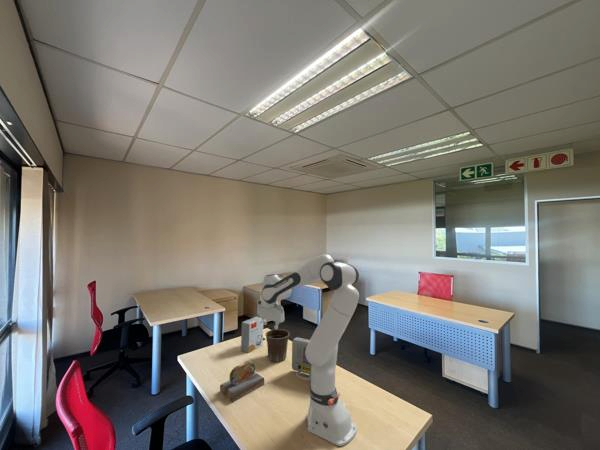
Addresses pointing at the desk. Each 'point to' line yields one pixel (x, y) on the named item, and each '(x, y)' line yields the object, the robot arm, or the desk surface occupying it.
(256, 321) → the hard drive box
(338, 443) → the robot arm
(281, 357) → the plant pot
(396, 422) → the desk surface
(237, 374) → the tin
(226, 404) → the desk surface
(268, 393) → the desk surface
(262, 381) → the plinth
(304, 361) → the network device
